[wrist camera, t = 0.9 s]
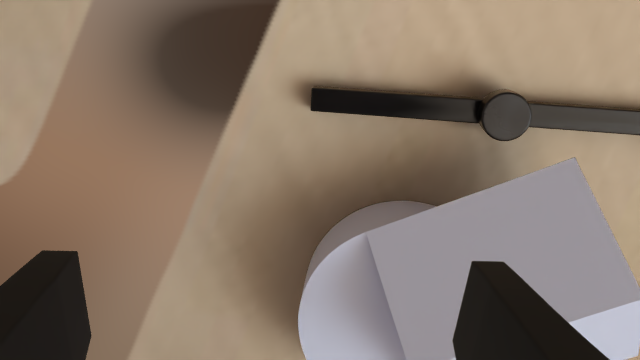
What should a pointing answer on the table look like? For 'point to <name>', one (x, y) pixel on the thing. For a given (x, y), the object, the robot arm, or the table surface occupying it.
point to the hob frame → (479, 111)
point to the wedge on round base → (466, 269)
